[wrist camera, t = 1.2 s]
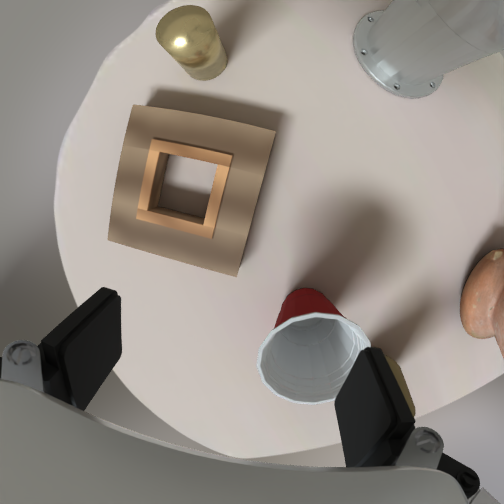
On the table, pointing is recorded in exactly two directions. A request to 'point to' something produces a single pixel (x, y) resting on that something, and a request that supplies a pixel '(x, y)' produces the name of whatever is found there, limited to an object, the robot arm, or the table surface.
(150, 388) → the table surface
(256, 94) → the table surface
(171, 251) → the walnut plate
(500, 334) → the ceramic jug
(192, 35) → the brass peg
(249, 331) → the table surface
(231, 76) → the table surface
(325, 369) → the plastic cup
